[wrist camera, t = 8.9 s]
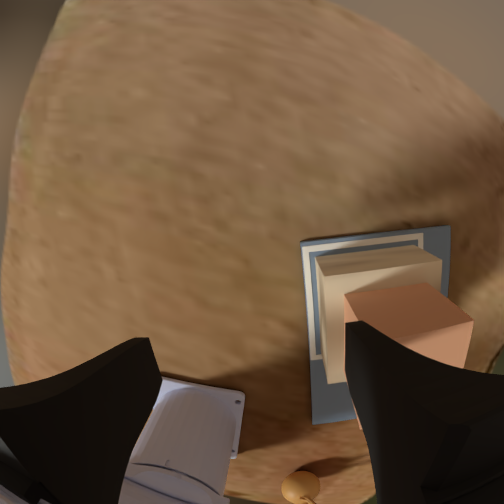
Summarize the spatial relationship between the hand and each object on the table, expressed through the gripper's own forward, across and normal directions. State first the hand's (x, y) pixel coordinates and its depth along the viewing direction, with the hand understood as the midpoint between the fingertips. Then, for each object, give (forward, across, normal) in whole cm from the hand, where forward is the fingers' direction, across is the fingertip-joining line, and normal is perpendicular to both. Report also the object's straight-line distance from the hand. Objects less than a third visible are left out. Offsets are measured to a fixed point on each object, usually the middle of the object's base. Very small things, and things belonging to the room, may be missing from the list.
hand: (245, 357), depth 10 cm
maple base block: (+10, -7, +3) cm, 12 cm away
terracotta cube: (+6, -7, +3) cm, 9 cm away
